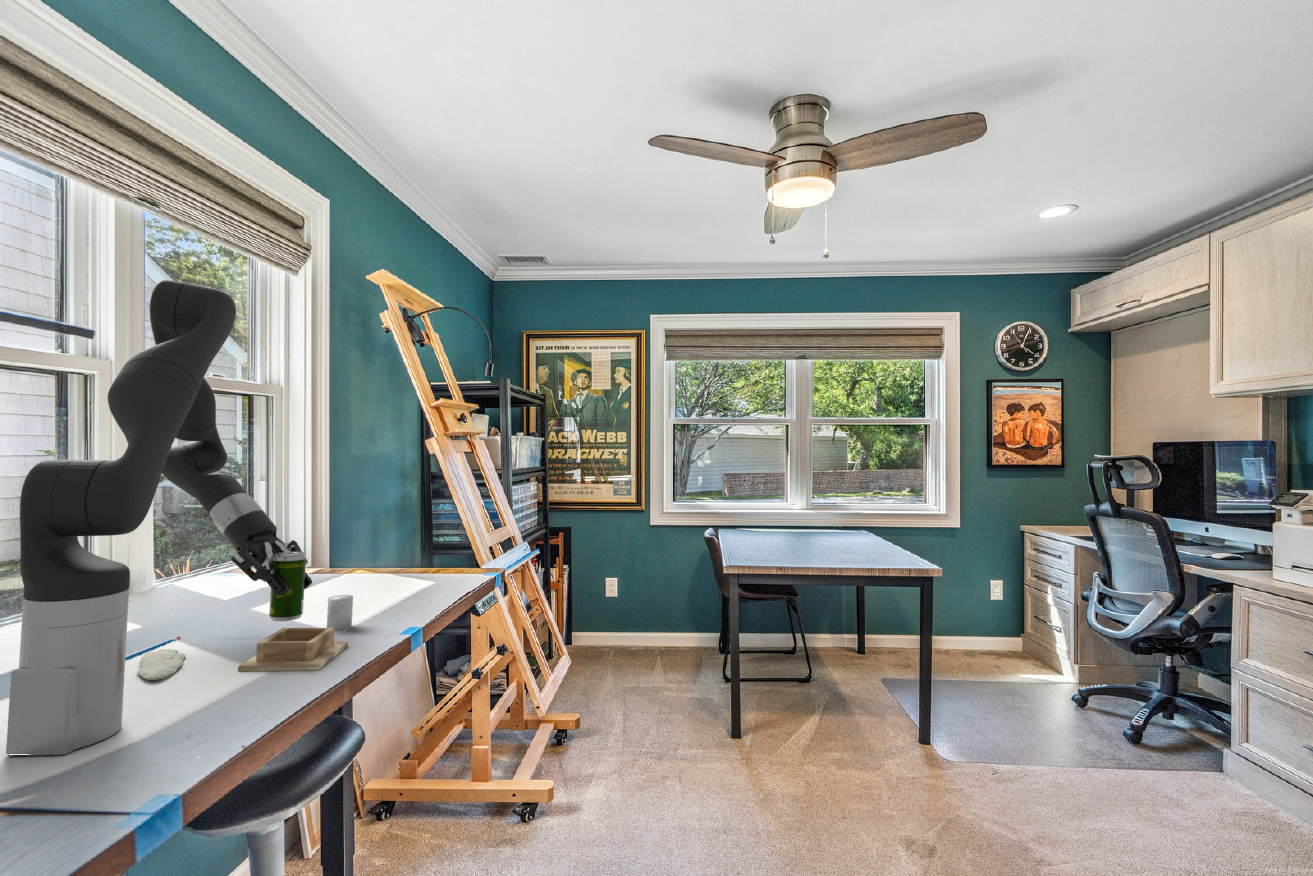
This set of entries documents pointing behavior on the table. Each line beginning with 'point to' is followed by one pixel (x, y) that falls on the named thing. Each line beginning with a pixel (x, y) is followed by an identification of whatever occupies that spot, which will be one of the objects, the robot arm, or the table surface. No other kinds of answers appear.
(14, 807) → the table surface
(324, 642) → the socket
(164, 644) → the pencil
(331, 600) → the short post
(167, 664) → the stone tool
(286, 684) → the table surface
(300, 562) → the beer can
